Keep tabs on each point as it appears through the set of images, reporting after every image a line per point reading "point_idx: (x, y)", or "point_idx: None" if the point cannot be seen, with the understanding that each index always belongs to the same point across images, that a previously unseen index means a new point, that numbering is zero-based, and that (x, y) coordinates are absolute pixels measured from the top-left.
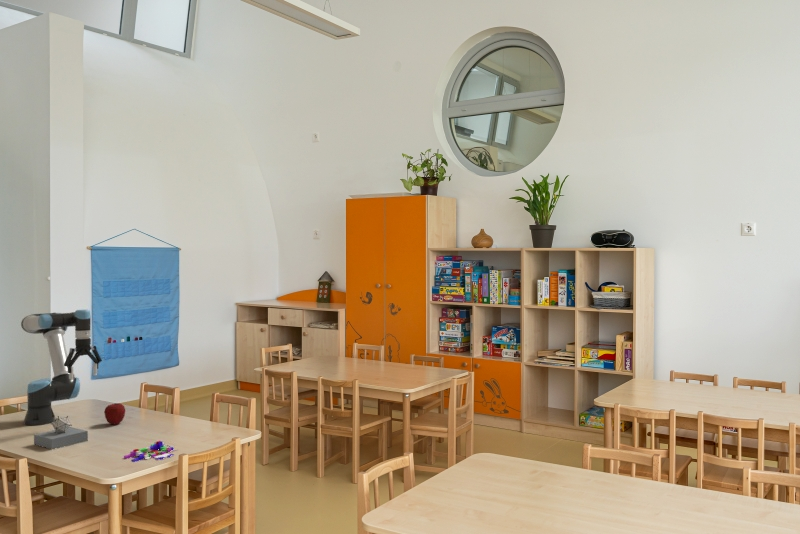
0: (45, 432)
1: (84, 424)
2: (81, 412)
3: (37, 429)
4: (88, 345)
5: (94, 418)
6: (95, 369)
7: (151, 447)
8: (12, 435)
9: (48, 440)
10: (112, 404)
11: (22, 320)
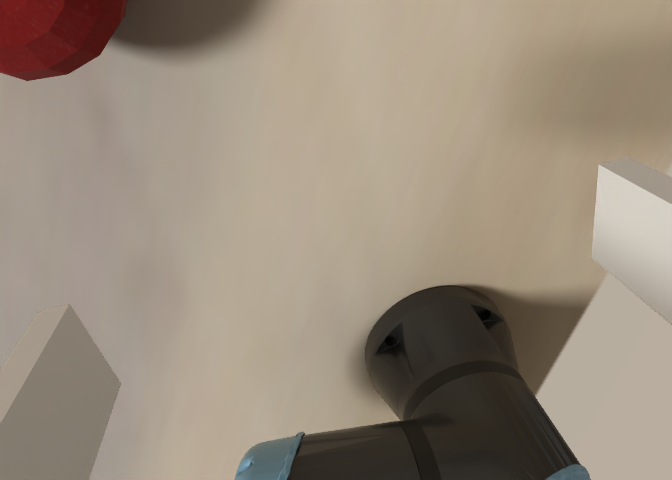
0: None
1: (270, 130)
2: (206, 422)
3: (514, 194)
4: None
5: (174, 254)
6: (13, 434)
7: None
8: (656, 144)
9: None
10: (3, 13)
11: None
